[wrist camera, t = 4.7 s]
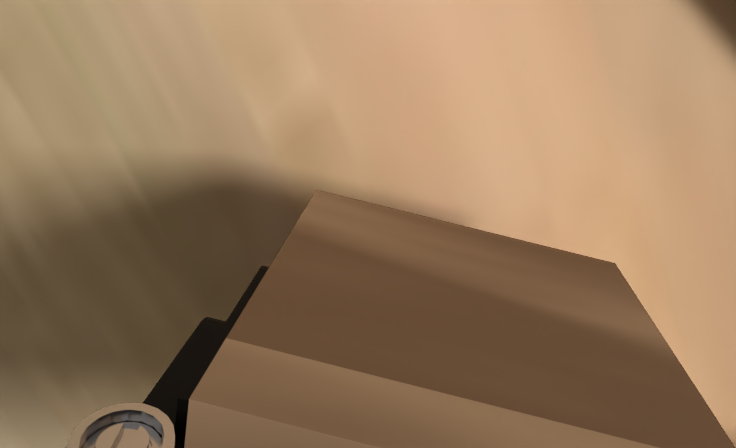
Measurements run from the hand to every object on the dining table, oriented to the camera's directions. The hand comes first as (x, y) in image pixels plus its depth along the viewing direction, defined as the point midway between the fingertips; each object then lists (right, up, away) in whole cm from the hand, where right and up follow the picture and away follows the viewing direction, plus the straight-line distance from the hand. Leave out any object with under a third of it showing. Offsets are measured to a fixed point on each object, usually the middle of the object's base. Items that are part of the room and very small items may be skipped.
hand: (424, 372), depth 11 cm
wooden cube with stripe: (0, 0, +1) cm, 1 cm away
